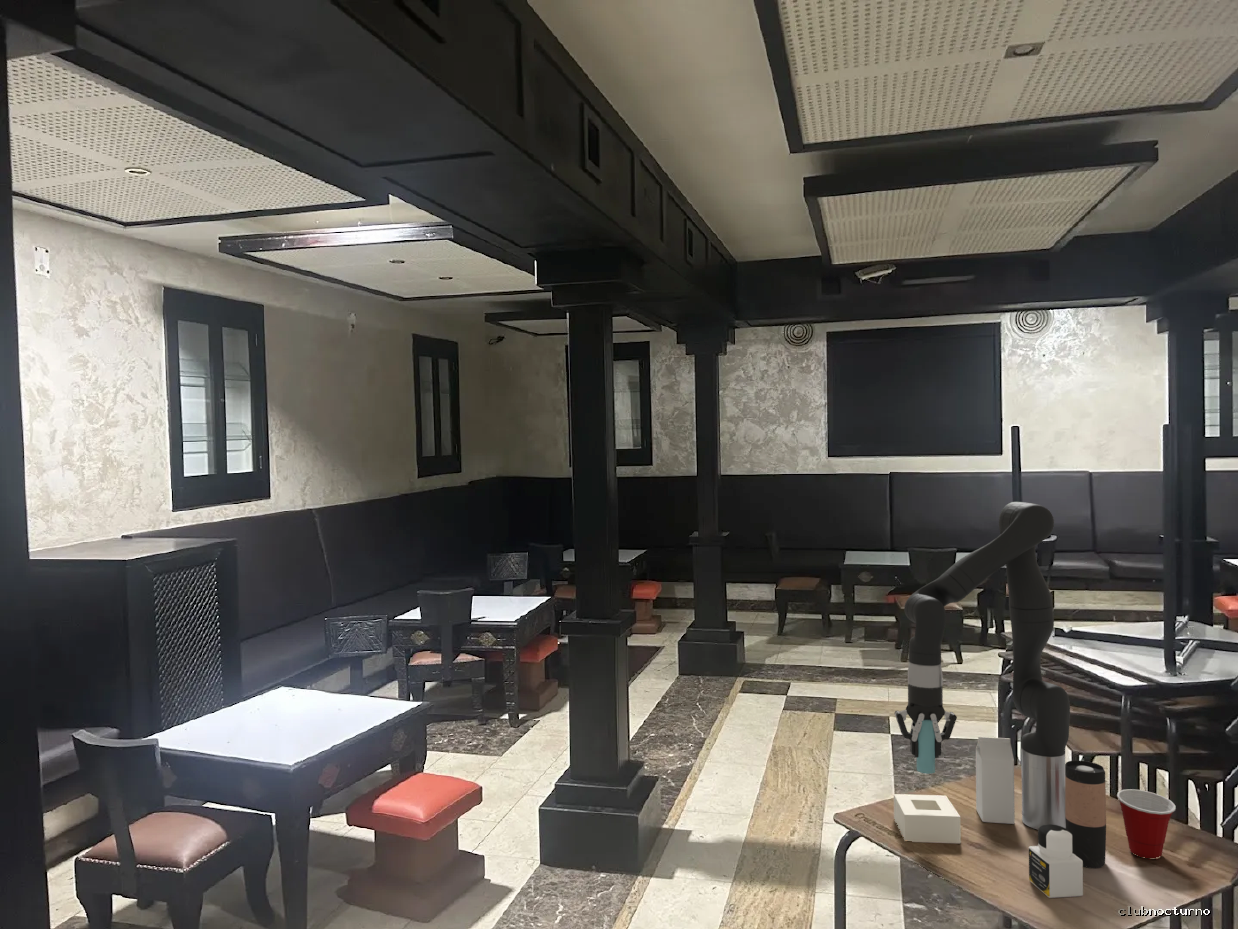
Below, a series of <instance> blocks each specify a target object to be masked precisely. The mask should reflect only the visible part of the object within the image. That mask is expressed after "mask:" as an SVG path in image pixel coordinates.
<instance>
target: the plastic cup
mask: <svg viewBox="0 0 1238 929" xmlns="http://www.w3.org/2000/svg"><path fill="white" fill-rule="evenodd" d="M1116 797H1117V800H1118V801H1119V805H1120V808H1121V812H1122V817H1123V818H1122V819H1123V823H1124V824H1123V825H1124V828H1125V835H1126V837H1127V843H1128V848H1129V852H1130V853H1131V852H1132V853H1134V854H1136V855H1138V856H1140V857H1145V858H1156V857H1159V856H1161V857H1162V856H1163V850H1164V845H1165V842H1166V836H1167V833H1168V832H1167V831H1168V827H1169V823H1170V822H1169V821H1170V820H1171V817H1172V814H1173V813H1174V812H1175V811H1176V805H1175V803H1174V802H1173V801H1172V800H1170V799H1169V798H1167V797H1165V796H1163V795H1160V794H1158V793H1154V792H1151V791H1147V790H1144V789H1143V790H1142V789H1134V788H1132V789H1131V788H1130V789H1121V790H1120V791H1118V792H1117V794H1116ZM1132 853H1131V854H1132ZM1134 854H1133V855H1134ZM1138 856H1137V857H1138ZM1140 857H1139V858H1140Z"/></svg>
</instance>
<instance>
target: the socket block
mask: <svg viewBox="0 0 1238 929" xmlns="http://www.w3.org/2000/svg"><path fill="white" fill-rule="evenodd" d="M894 819H895V820H894ZM893 820H894V823H895V824H896V823H897V824H896V826H897V825H898V826H897V828H898V830H899V829H900V830H899V832H900V831H901V832H900V835H901V836H902V835H903V836H902V838H903V837H904V838H903V841H905V840H908V841H912V842H911V843H938V844H961V839H962V837H961V815H960V814H959V813H958V811H957V809H956V807H955V806H954V805H953V804H952V802H951V801H950V800H949V798H948V797H947V795H940V794H939V795H937V794H910V793H908V794H904V793H903V794H902V793H893Z"/></svg>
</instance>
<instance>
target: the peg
mask: <svg viewBox="0 0 1238 929" xmlns="http://www.w3.org/2000/svg"><path fill="white" fill-rule="evenodd" d="M917 741H918V758H916V771H917V772H919V773H921V774H926V775H927V774H928V775H930V774H931V775H932V774H934V773H935V772H936V758H935V733H934V729H933V722H932V721H931V720H923V721H922V726H921V729H920V732H919V734H918V738H917Z"/></svg>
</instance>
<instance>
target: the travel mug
mask: <svg viewBox="0 0 1238 929" xmlns="http://www.w3.org/2000/svg"><path fill="white" fill-rule="evenodd" d="M1106 790H1107V789H1106V770H1105V768H1104V766H1102V765H1101V764H1099V763H1095V762H1092V761H1088V760H1076V759H1075V760H1069V761H1065V822H1066V829H1067V830H1069V831H1070V832H1071V834H1072V853H1073V854H1074V855H1076V856H1077V857H1078V858H1080V859H1081V860H1082V861H1083V868H1089V869H1099V868H1103V867H1104V866H1105V865H1106V855H1107V854H1106V852H1107V850H1106V848H1107V847H1106V846H1107V844H1106V843H1107V804H1106V803H1107V799H1106V798H1107V796H1106V794H1107V792H1106Z"/></svg>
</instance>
